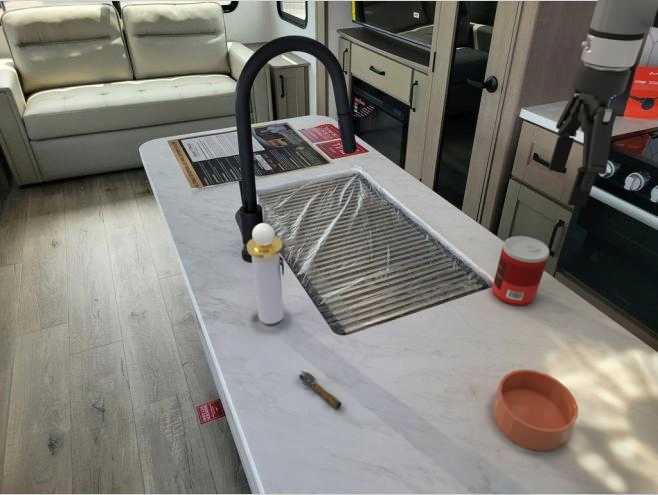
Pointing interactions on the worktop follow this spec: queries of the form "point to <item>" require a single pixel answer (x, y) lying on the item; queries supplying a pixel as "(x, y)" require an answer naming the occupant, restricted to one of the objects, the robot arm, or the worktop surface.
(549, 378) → the bowl
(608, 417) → the worktop surface
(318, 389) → the can opener
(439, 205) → the worktop surface
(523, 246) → the canned food
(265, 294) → the perfume bottle
